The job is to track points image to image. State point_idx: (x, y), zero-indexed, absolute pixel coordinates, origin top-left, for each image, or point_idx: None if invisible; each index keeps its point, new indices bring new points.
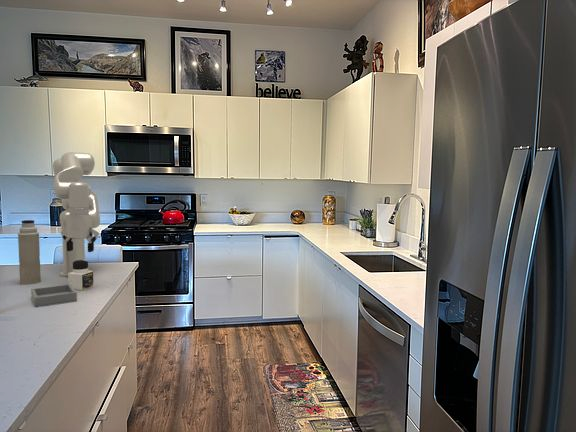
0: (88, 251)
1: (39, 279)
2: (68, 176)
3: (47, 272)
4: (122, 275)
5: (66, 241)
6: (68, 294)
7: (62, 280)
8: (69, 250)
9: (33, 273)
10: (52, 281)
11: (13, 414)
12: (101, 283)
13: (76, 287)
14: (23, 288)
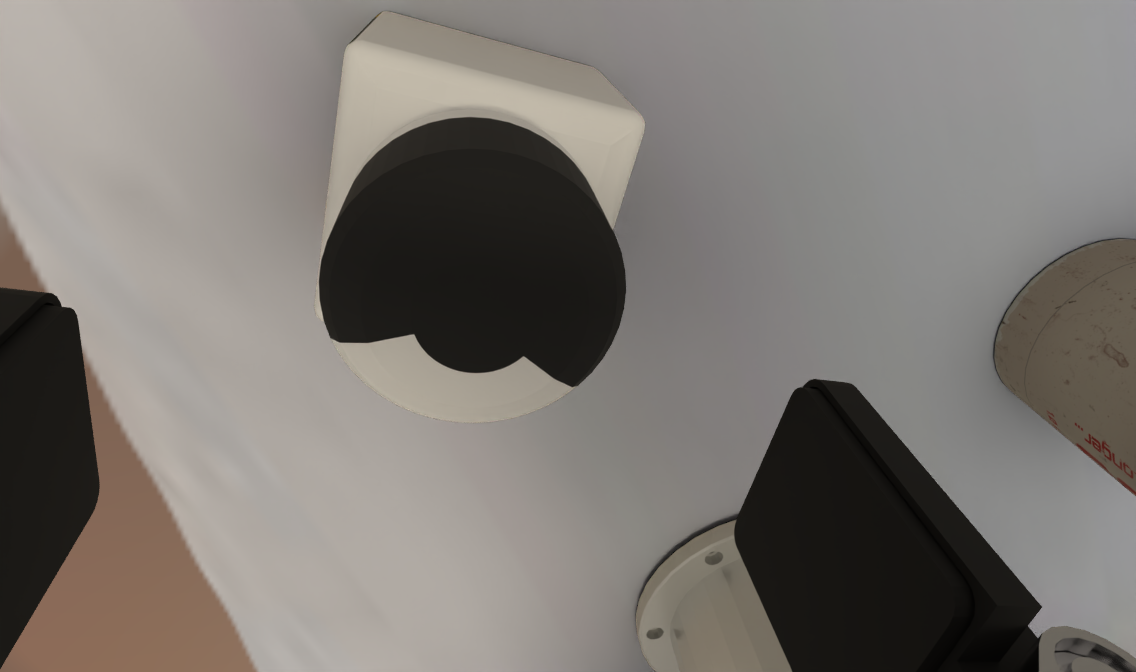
0: (12, 294)
1: (1015, 343)
2: None
3: None
4: (273, 621)
5: (1072, 662)
6: None
7: None
8: (790, 419)
9: (1132, 322)
10: (878, 360)
11: None
12: (321, 344)
13: (476, 36)
14: (1118, 72)
